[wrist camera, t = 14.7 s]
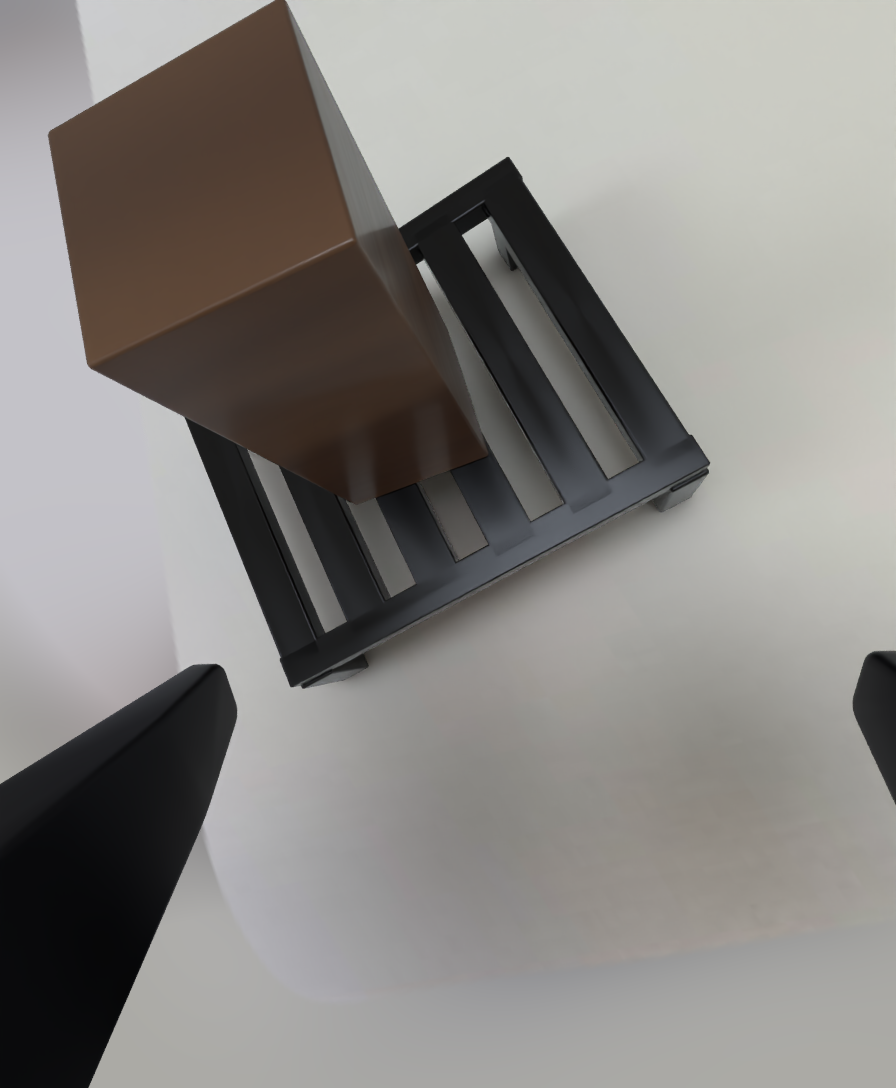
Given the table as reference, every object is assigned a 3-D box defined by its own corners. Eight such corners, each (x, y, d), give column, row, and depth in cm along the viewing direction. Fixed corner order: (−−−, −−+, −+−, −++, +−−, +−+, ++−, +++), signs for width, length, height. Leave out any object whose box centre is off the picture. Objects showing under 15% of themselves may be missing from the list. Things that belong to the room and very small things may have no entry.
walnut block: (489, 456, 17) (357, 239, 8) (356, 506, 18) (85, 368, 8) (447, 328, 18) (283, -8, 9) (322, 381, 19) (44, 130, 9)
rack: (343, 680, 22) (288, 692, 18) (231, 418, 24) (164, 379, 21) (692, 496, 19) (716, 464, 16) (524, 232, 22) (509, 150, 18)
